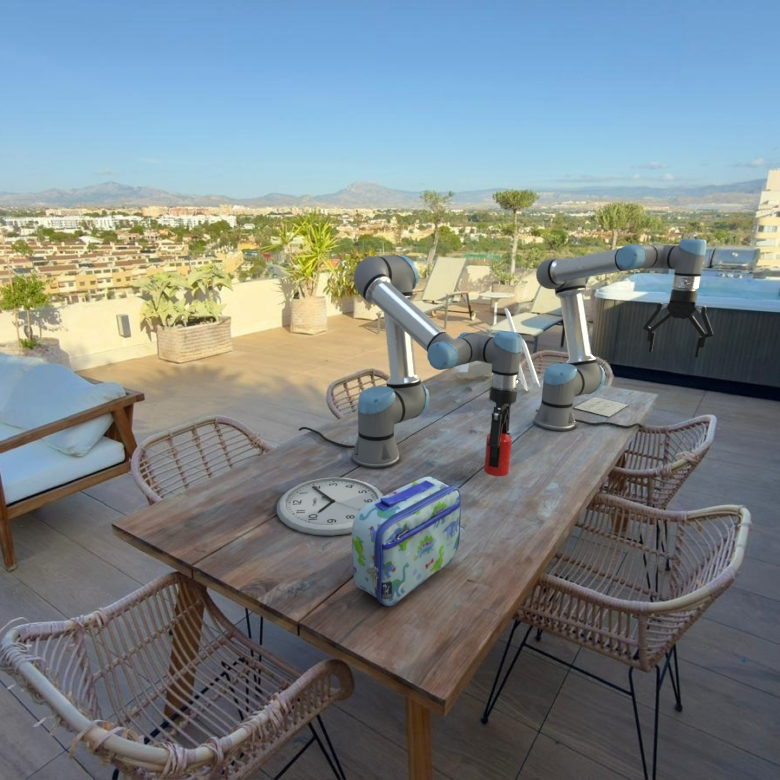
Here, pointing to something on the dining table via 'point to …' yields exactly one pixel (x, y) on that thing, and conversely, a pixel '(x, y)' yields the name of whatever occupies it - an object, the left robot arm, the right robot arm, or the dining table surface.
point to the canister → (503, 459)
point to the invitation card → (601, 406)
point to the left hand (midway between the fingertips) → (497, 461)
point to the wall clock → (325, 505)
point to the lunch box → (405, 538)
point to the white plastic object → (485, 368)
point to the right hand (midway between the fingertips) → (673, 354)
